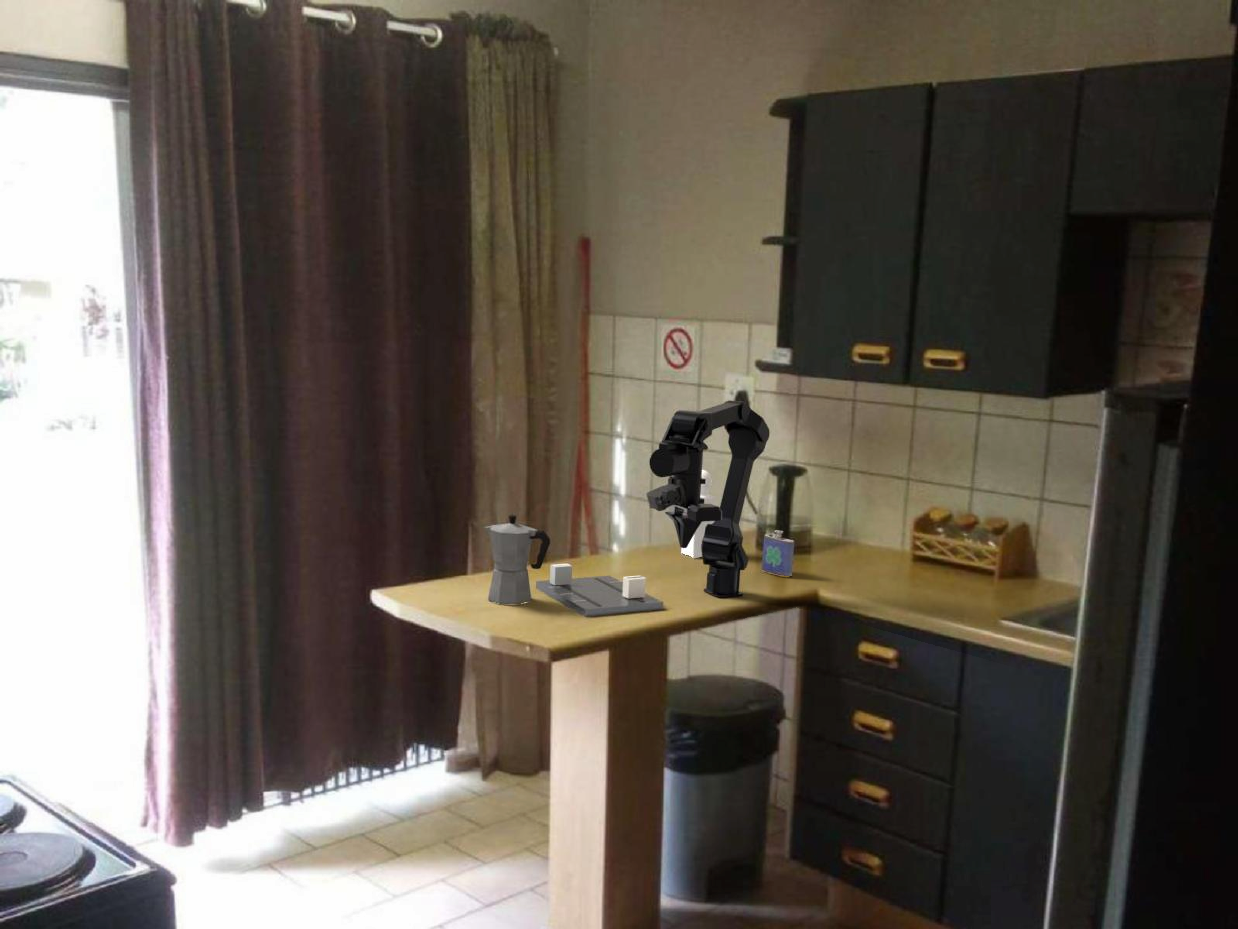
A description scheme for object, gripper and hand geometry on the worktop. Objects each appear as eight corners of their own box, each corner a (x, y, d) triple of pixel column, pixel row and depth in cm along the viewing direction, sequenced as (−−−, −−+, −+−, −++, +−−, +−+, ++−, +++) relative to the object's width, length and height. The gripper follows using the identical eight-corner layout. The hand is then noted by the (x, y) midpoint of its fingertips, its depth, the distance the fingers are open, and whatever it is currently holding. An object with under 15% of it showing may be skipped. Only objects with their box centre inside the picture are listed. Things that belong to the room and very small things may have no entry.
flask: (794, 577, 271) (797, 533, 269) (785, 579, 269) (788, 534, 267) (766, 569, 278) (769, 526, 276) (757, 571, 276) (760, 527, 274)
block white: (566, 581, 249) (567, 563, 249) (571, 584, 247) (572, 565, 246) (549, 582, 247) (550, 564, 247) (554, 585, 245) (555, 566, 244)
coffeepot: (470, 599, 237) (473, 514, 234) (493, 590, 245) (496, 507, 243) (536, 611, 231) (539, 523, 228) (557, 601, 239) (561, 516, 237)
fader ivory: (639, 594, 241) (640, 575, 241) (644, 597, 239) (645, 577, 239) (622, 595, 239) (623, 576, 239) (628, 598, 237) (629, 579, 237)
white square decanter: (692, 559, 285) (697, 471, 282) (678, 553, 291) (683, 468, 288) (714, 557, 288) (719, 471, 285) (699, 552, 294) (704, 467, 291)
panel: (608, 582, 257) (609, 575, 257) (663, 609, 237) (663, 601, 236) (535, 588, 249) (536, 580, 249) (585, 616, 228) (585, 608, 228)
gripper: (631, 467, 238) (627, 540, 240) (677, 481, 221) (673, 560, 224) (677, 465, 243) (672, 537, 245) (725, 479, 227) (721, 556, 229)
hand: (683, 547), depth 236 cm, fingers closed
